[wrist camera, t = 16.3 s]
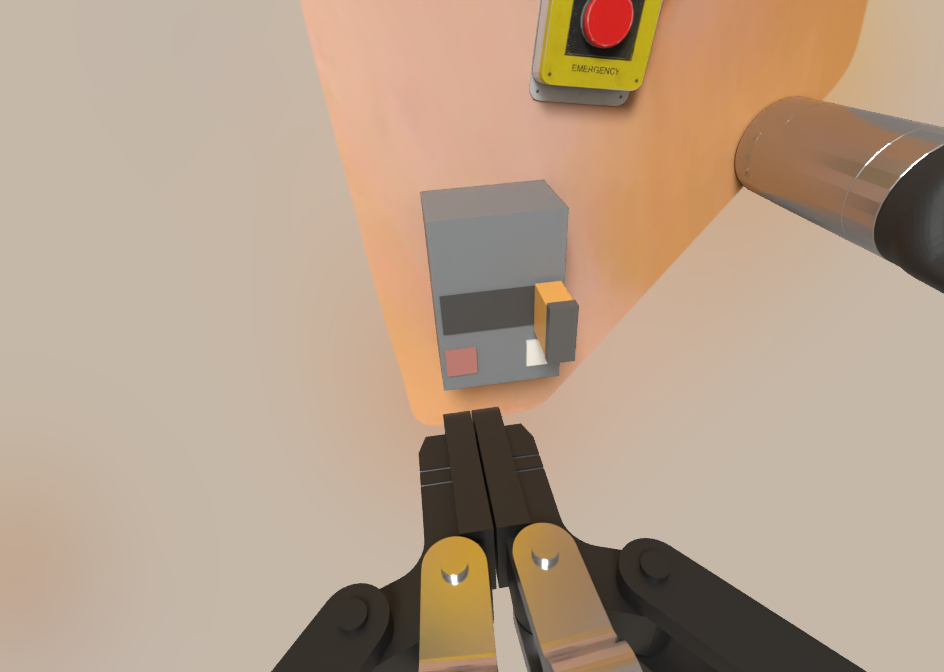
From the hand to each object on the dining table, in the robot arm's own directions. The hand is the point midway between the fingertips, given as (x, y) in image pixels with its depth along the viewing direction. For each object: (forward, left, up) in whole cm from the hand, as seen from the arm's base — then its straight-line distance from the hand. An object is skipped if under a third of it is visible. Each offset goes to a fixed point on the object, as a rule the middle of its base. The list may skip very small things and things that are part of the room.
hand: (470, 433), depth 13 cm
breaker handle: (-10, +14, -28) cm, 33 cm away
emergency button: (-16, -9, -38) cm, 42 cm away
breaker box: (-6, +14, -37) cm, 40 cm away
